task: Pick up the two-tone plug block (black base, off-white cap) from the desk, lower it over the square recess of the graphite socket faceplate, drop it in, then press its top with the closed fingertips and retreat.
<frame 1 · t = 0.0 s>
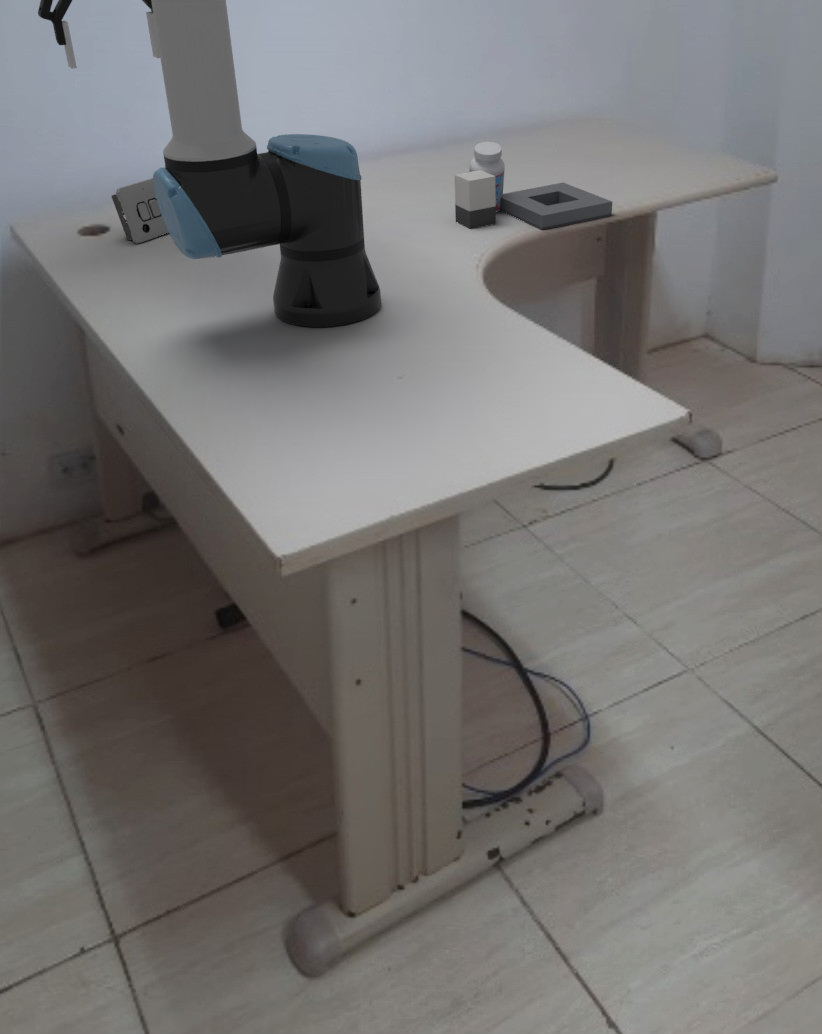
hand: (115, 62, 168), 28 cm above the table, fingers open, 13 cm apart
plug: (475, 223, 181), on the table
electrical switch: (147, 237, 184), on the table
pill bottle: (485, 208, 188), on the table, touching socket plate
socket plate: (552, 212, 184), on the table
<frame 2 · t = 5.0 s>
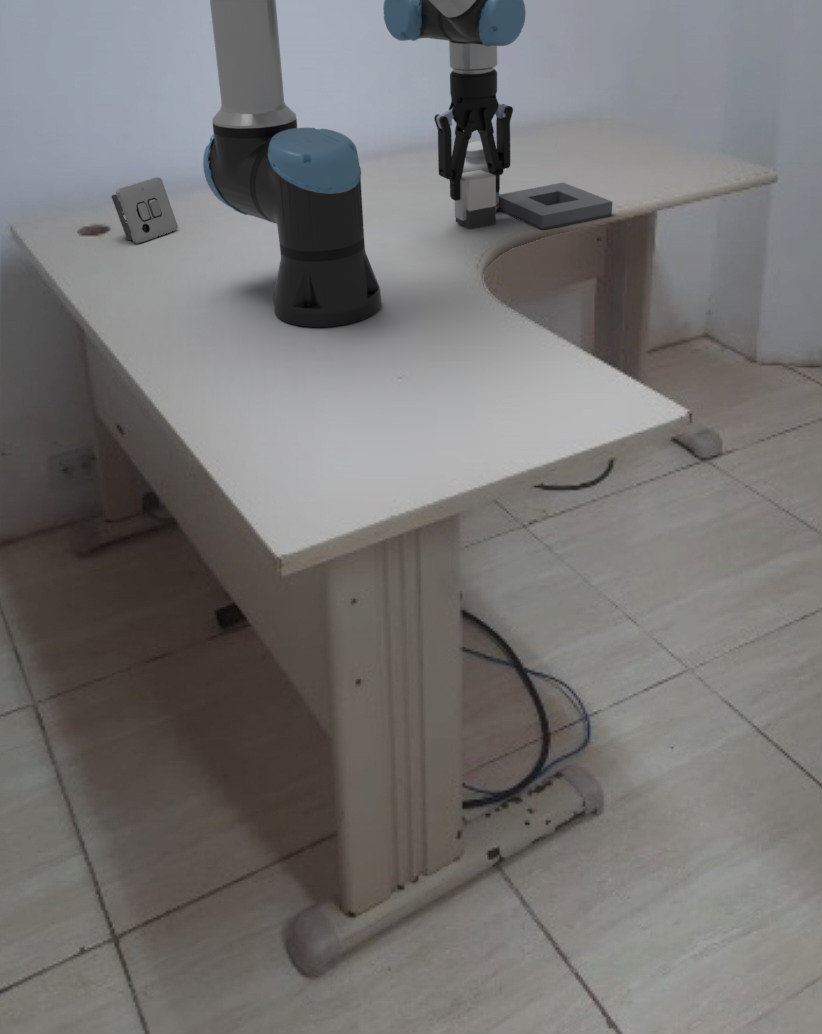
hand: (475, 215, 180), 1 cm above the table, fingers closed on plug, 5 cm apart
plug: (475, 222, 181), on the table, touching gripper
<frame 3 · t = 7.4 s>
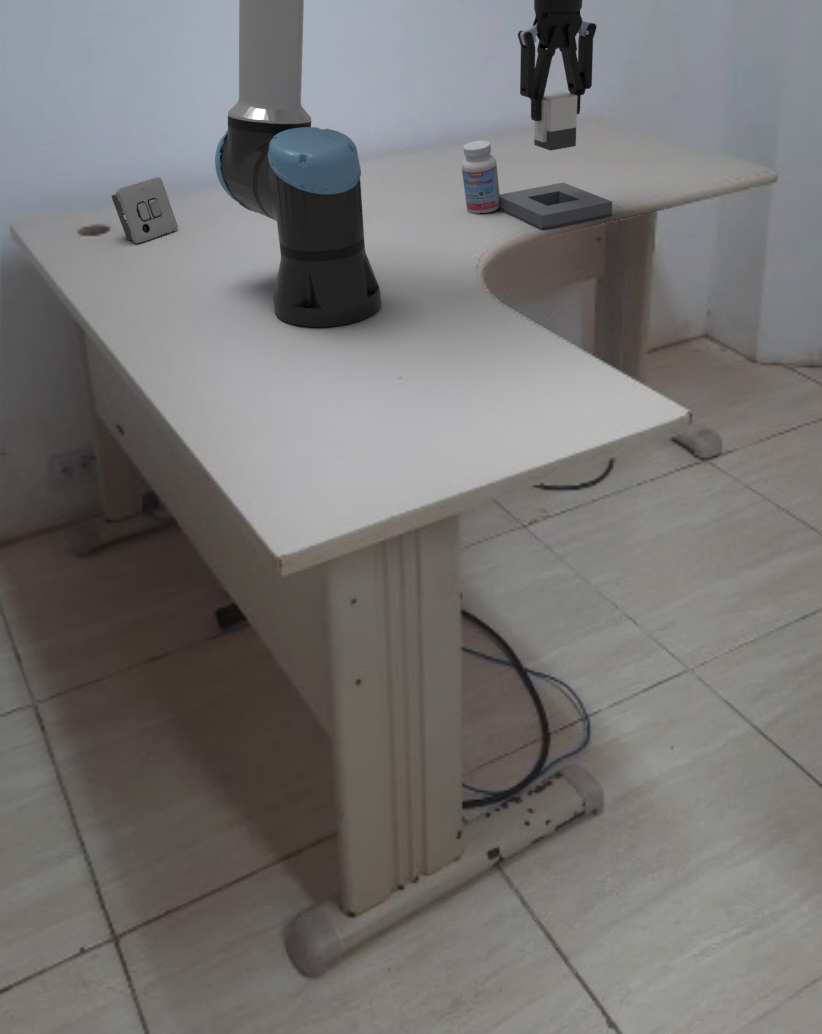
hand: (555, 137, 177), 12 cm above the table, fingers closed on plug, 5 cm apart
plug: (554, 145, 178), point 11 cm above the table, touching gripper
when the fingers open (5 cm above the table, at t = 9.6 s): plug drops 3 cm, resting on socket plate.
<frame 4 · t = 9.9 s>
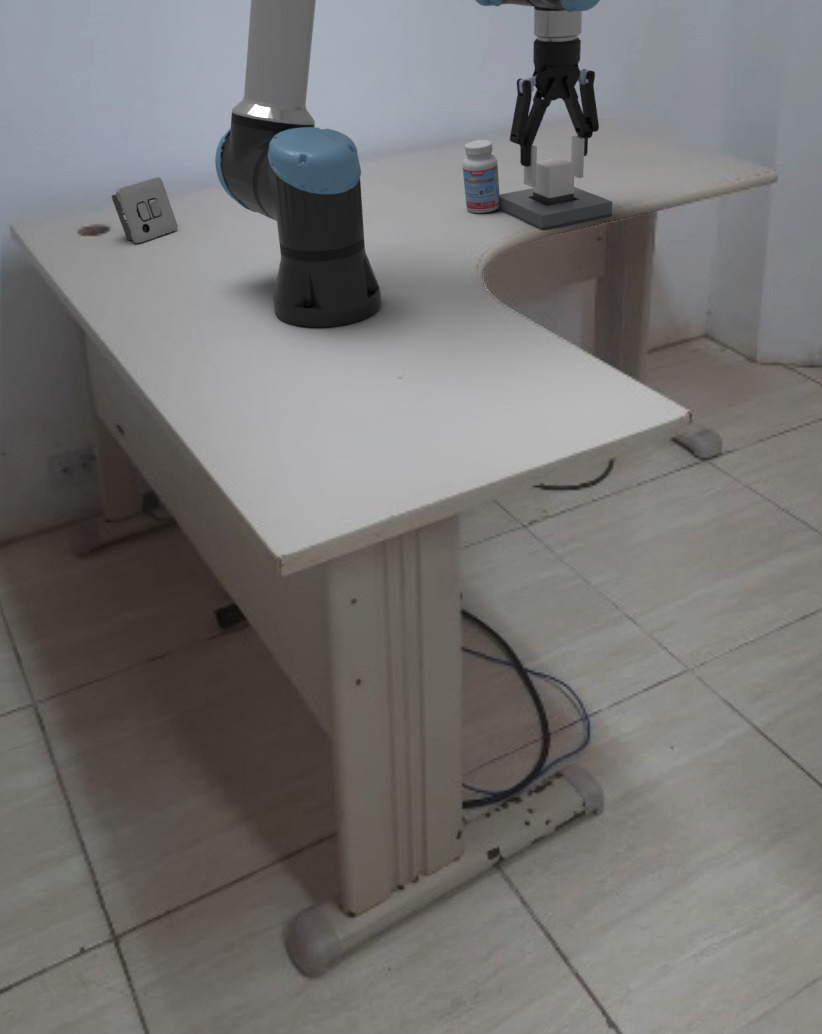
hand: (553, 180, 181), 5 cm above the table, fingers open, 9 cm apart
plug: (552, 209, 184), resting on socket plate
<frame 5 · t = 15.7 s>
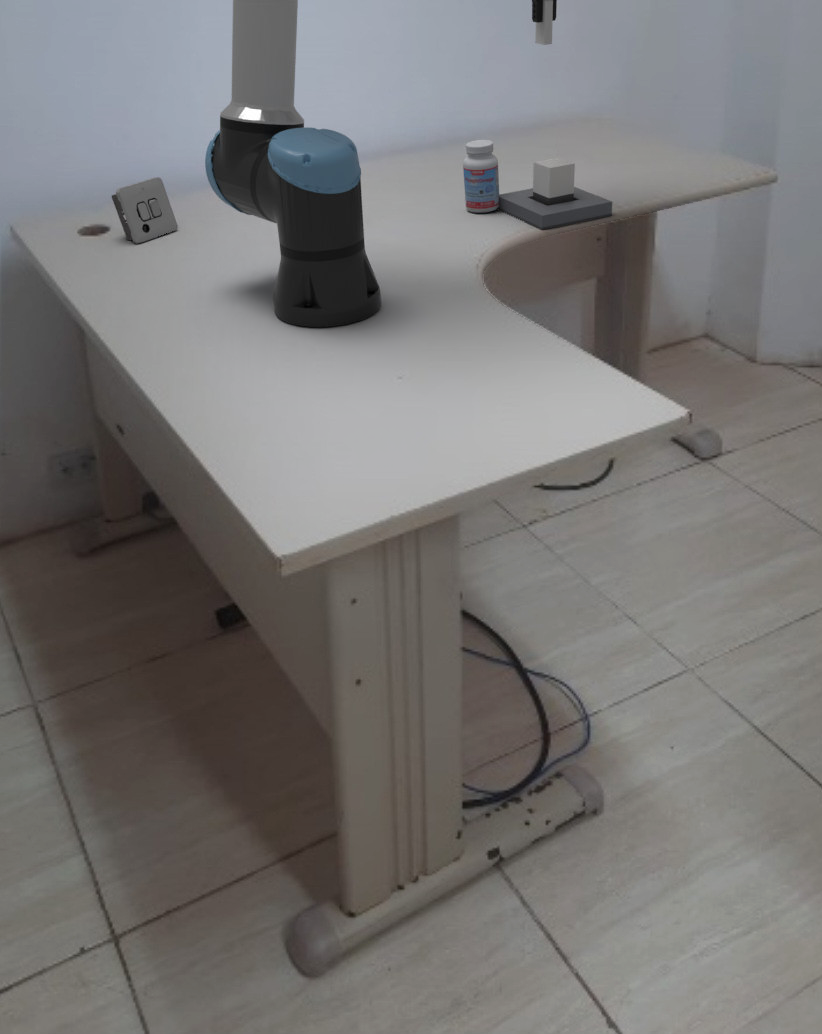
hand: (543, 43, 175), 26 cm above the table, fingers closed
pill bottle: (483, 209, 187), on the table, touching socket plate
everything else where it was.
at the end: plug 0.0 cm off-centre on the socket plate, point 0.4 cm above the socket plate's base; plug tilted 0°; the gripper is holding nothing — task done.
